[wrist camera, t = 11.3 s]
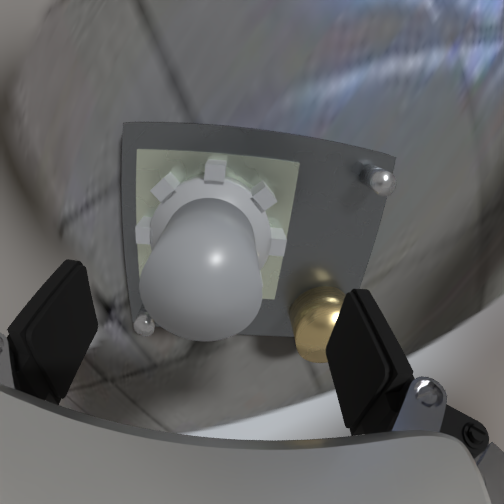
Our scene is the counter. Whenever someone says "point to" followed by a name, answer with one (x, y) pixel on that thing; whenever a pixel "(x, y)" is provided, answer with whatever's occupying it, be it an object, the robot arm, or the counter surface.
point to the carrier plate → (270, 215)
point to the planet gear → (207, 253)
